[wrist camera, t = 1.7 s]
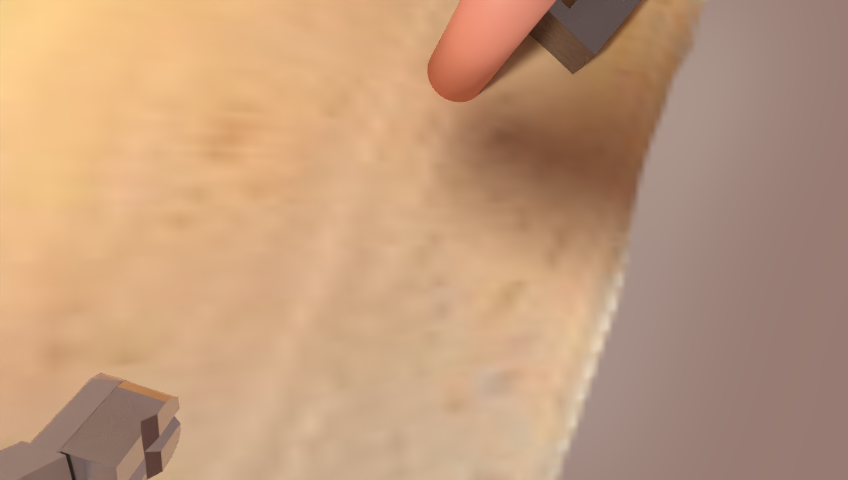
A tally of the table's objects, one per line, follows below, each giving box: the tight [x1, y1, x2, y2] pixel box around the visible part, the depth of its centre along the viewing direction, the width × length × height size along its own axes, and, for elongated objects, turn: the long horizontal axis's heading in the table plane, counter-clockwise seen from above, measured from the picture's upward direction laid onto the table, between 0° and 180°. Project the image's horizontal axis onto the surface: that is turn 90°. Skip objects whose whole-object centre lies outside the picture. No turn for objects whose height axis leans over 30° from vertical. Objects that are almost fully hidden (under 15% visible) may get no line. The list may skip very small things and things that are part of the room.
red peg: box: [428, 0, 556, 102], centre depth 31 cm, size 4×4×12 cm
